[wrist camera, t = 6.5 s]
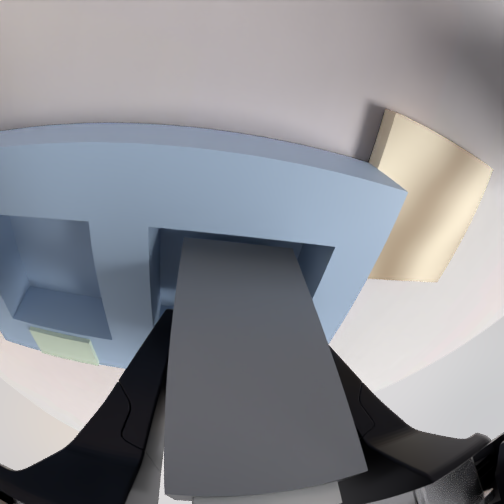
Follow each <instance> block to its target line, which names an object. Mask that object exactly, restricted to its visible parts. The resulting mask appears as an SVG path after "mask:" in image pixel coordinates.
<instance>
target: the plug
mask: <svg viewBox="0 0 504 504" xmlns="http://www.w3.org/2000/svg"><path fill="white" fill-rule="evenodd" d="M366 471H368V468H367V465H366V461H365V458H364V454H363V451H362V447H361V444H360V441H359V437H358V434H357V431H356V427H355V424H354V421H353V418H352V414H351V411H350V408H349V405H348V402H347V399H346V395H345V392H344V389H343V386H342V383H341V380H340V377H339V374H338V371H337V368H336V365H335V362H334V359H333V356H332V354H331V351H330V348H329V345H328V342H327V339H326V336H325V334H324V331H323V328H322V325H321V322H320V320H319V317H318V314H317V311H316V309H315V306H314V303H313V300H312V298H311V295H310V292H309V290H308V287H307V284H306V282H305V279H304V277H303V274H302V271H301V269H300V266H299V264H298V261H297V258H296V256H295V253H294V251H293V248H285V247H276V246H266V245H257V244H247V243H238V242H228V241H219V240H209V239H199V238H189V237H184V239H183V245H182V252H181V258H180V265H179V271H178V278H177V286H176V293H175V301H174V309H173V318H172V327H171V336H170V347H169V358H168V371H167V385H166V403H165V429H164V487H165V494H166V495H167V496H169V497H171V498H173V499H174V500H184V501H192V504H340V503H342V499H341V495H340V490H339V486H338V482H339V481H342V480H345V479H348V478H351V477H353V476H356V475H358V474H361V473H364V472H366Z"/></svg>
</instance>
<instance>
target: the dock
mask: <svg viewBox="0 0 504 504" xmlns="http://www.w3.org/2000/svg"><path fill="white" fill-rule="evenodd" d="M407 194H408V192H407V191H406V190H405V189H404V188H402V187H401V186H400V185H398V184H397V183H396V182H395V181H393V180H392V179H391V178H389V177H388V176H387V175H385V174H384V173H383V172H381V171H380V170H378V169H377V168H376V167H374V166H373V165H371V164H370V163H368V162H365V161H362V160H358V159H355V158H352V157H348V156H344V155H341V154H337V153H333V152H329V151H325V150H321V149H317V148H313V147H309V146H305V145H300V144H296V143H291V142H286V141H281V140H276V139H271V138H266V137H260V136H254V135H248V134H242V133H235V132H229V131H221V130H213V129H205V128H196V127H186V126H174V125H160V124H141V123H77V124H59V125H46V126H36V127H27V128H19V129H12V130H5V131H0V331H1V333H2V334H3V336H4V338H5V339H6V340H8V341H10V342H13V343H17V344H20V345H23V346H26V347H29V348H33V349H36V350H40V351H41V352H42V353H45V354H49V355H52V356H56V357H60V358H64V359H69V360H73V361H77V362H82V363H87V364H92V365H97V366H99V364H101V365H106V366H112V367H118V368H125V369H126V368H127V367H128V365H129V364H130V362H131V360H132V359H133V357H134V356H135V354H136V353H137V351H138V350H139V348H140V347H141V345H142V344H143V342H144V341H145V339H146V338H147V336H148V335H149V333H150V332H151V330H152V329H153V327H154V326H155V324H156V323H157V322H158V320H159V319H160V317H161V316H162V314H163V313H164V311H165V310H166V309H174V301H175V293H176V286H177V278H178V271H179V265H180V258H181V252H182V245H183V239H184V237H189V238H199V239H209V240H219V241H228V242H238V243H247V244H257V245H266V246H276V247H285V248H293V251H294V253H295V256H296V258H297V261H298V264H299V266H300V269H301V271H302V274H303V277H304V279H305V282H306V284H307V287H308V290H309V292H310V295H311V298H312V300H313V303H314V306H315V309H316V311H317V314H318V317H319V320H320V322H321V325H322V328H323V331H324V334H325V336H326V339H327V342H328V344H329V342H330V341H331V339H332V338H333V336H334V335H335V333H336V331H337V330H338V328H339V327H340V325H341V323H342V322H343V320H344V318H345V317H346V315H347V313H348V312H349V310H350V308H351V307H352V305H353V303H354V301H355V300H356V298H357V296H358V294H359V293H360V291H361V289H362V287H363V286H364V284H365V282H366V280H367V278H368V276H369V274H370V273H371V271H372V269H373V267H374V265H375V263H376V261H377V259H378V257H379V255H380V253H381V251H382V249H383V247H384V245H385V243H386V241H387V239H388V237H389V235H390V233H391V230H392V228H393V226H394V224H395V222H396V219H397V217H398V215H399V213H400V210H401V208H402V206H403V203H404V201H405V199H406V196H407Z"/></svg>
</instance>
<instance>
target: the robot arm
mask: <svg viewBox="0 0 504 504" xmlns="http://www.w3.org/2000/svg"><path fill="white" fill-rule="evenodd" d="M172 318H173V309H166V310H165V311H164V313H163V314H162V316H161V317H160V319H159V320H158V322H157V323H156V324H155V326H154V327H153V329H152V330H151V332H150V333H149V335H148V336H147V338H146V339H145V341H144V342H143V344H142V345H141V347H140V348H139V350H138V351H137V353H136V354H135V356H134V357H133V359H132V360H131V362H130V364H129V365H128V367H127V368H126V370H125V371H124V373H123V374H122V376H121V377H120V379H119V382H117V384H116V385H115V387H114V388H113V390H112V391H111V393H110V394H109V396H108V397H107V399H106V400H105V402H104V403H103V404H102V406H101V407H100V408H99V409H98V411H97V412H96V413H95V414H94V416H93V417H92V418H91V419H90V420H89V422H88V423H87V424H86V425H85V426H84V428H83V429H82V430H81V431H80V432H79V434H78V435H77V436H76V438H74V440H73V441H72V442H71V443H70V444H69V445H67V446H66V447H65V448H63V449H62V450H60V451H58V452H56V453H55V454H53V455H51V456H49V457H47V458H45V459H43V460H42V461H40V462H38V463H36V464H34V465H32V466H30V467H28V468H26V469H23V470H18V471H15V470H13V469H10V468H8V467H6V466H4V465H2V464H0V504H158V499H159V498H158V497H159V488H160V476H161V468H162V459H163V451H164V429H165V403H166V385H167V371H168V358H169V347H170V336H171V327H172ZM329 348H330V351H331V354H332V356H333V359H334V362H335V365H336V368H337V371H338V374H339V377H340V380H341V383H342V386H343V389H344V392H345V395H346V399H347V402H348V405H349V408H350V411H351V414H352V418H353V421H354V424H355V427H356V431H357V434H358V437H359V441H360V444H361V447H362V451H363V454H364V458H365V461H366V465H367V468H368V471H366V472H364V473H361V474H358V475H356V476H353V477H351V478H348V479H345V480H342V481H339V482H338V486H339V490H340V495H341V499H342V503H340V504H504V432H503V433H502V434H501V435H499V436H498V437H497V438H495V439H493V440H492V441H491V439H490V438H488V437H487V436H486V435H483V434H480V433H475V434H474V435H472V436H470V437H469V438H467V439H457V438H451V437H446V436H440V435H436V434H430V433H426V432H422V431H418V430H415V429H414V428H412V427H410V426H409V425H408V424H406V423H405V422H404V421H403V420H401V418H399V417H398V416H397V415H396V414H395V413H394V412H392V411H391V410H390V409H389V408H388V407H387V406H386V405H385V404H384V403H382V402H381V401H380V400H379V399H378V398H377V397H376V396H375V395H374V394H373V393H372V392H371V391H370V390H369V388H368V387H367V386H366V385H365V384H364V383H362V381H361V380H360V379H359V378H358V377H357V375H356V374H355V373H354V372H353V371H352V370H351V369H350V368H349V367H348V366H347V365H346V363H345V362H344V361H343V360H342V359H341V358H340V357H339V356H338V355H337V354H336V352H335V351H334V350H333V349H332V348H331V347H330V346H329Z"/></svg>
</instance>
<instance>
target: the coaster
mask: <svg viewBox="0 0 504 504" xmlns="http://www.w3.org/2000/svg"><path fill="white" fill-rule="evenodd" d="M369 163H370V164H371V165H373V166H374V167H376V168H377V169H378V170H380V171H381V172H383V173H384V174H385V175H387V176H388V177H389V178H391V179H392V180H393V181H395V182H396V183H397V184H398V185H400V186H401V187H402V188H404V189H405V190H406V191H407V192H408V194H407V196H406V199H405V201H404V203H403V206H402V208H401V210H400V213H399V215H398V217H397V219H396V222H395V224H394V226H393V228H392V230H391V233H390V235H389V237H388V239H387V241H386V243H385V245H384V247H383V249H382V251H381V253H380V255H379V257H378V259H377V261H376V263H375V265H374V267H373V269H372V271H371V273H370V274H369V276H368V278H367V279H384V280H401V281H420V282H438V280H439V278H440V277H441V275H442V274H443V272H444V270H445V269H446V267H447V265H448V264H449V262H450V260H451V259H452V257H453V255H454V253H455V251H456V250H457V248H458V246H459V244H460V242H461V240H462V239H463V237H464V235H465V233H466V231H467V229H468V227H469V225H470V223H471V221H472V219H473V217H474V214H475V212H476V210H477V208H478V206H479V204H480V201H481V199H482V197H483V194H484V192H485V189H486V187H487V184H488V182H489V179H490V177H491V174H492V171H493V169H492V168H491V167H489V166H488V165H487V164H485V163H484V162H482V161H481V160H479V159H478V158H477V157H475V156H474V155H472V154H471V153H469V152H468V151H466V150H464V149H463V148H461V147H460V146H458V145H457V144H455V143H453V142H452V141H450V140H448V139H447V138H445V137H443V136H441V135H440V134H438V133H436V132H434V131H432V130H431V129H429V128H427V127H425V126H423V125H421V124H419V123H417V122H415V121H413V120H411V119H409V118H407V117H405V116H403V115H401V114H399V113H397V112H394V111H391V110H388V109H385V112H384V116H383V119H382V122H381V126H380V129H379V132H378V135H377V139H376V142H375V145H374V148H373V151H372V154H371V157H370V160H369Z"/></svg>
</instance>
